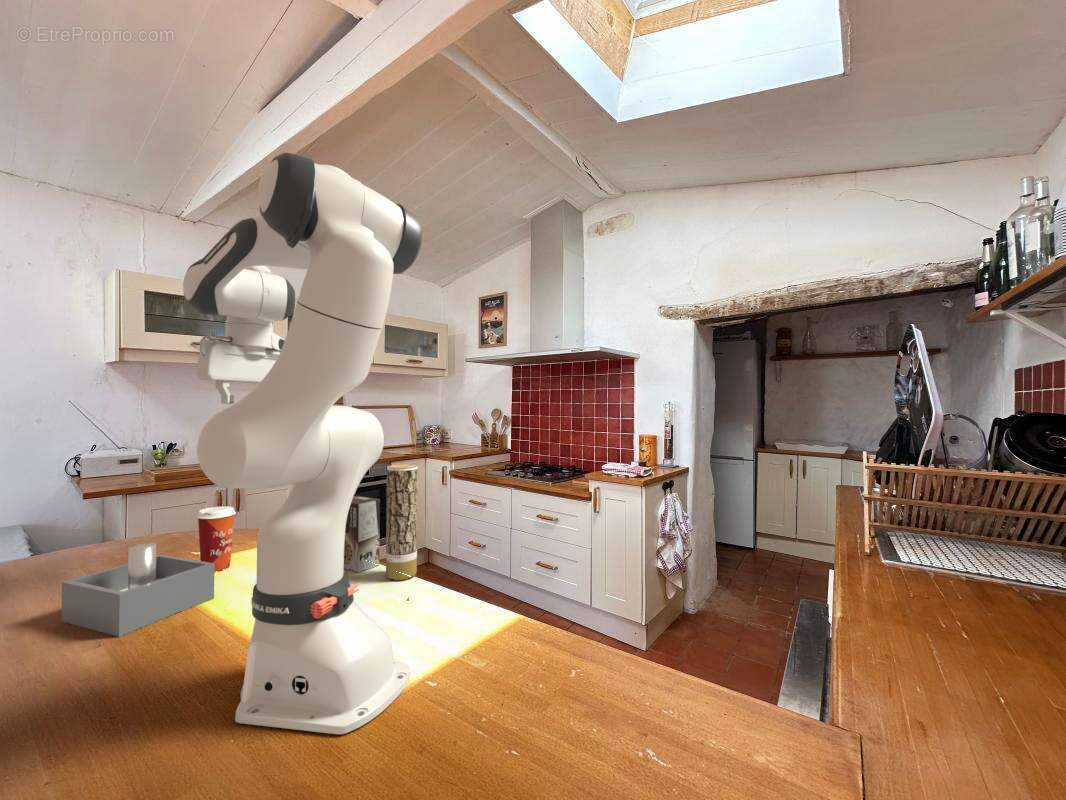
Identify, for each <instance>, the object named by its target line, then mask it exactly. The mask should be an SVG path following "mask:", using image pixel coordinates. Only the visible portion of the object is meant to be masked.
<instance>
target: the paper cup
mask: <svg viewBox="0 0 1066 800" xmlns="http://www.w3.org/2000/svg"><path fill="white" fill-rule="evenodd" d="M236 514H237V512H236V511H235V507H233V506H230V505H229V506H227V505H226V506H213V507H212V506H211V507H207V508H202V509H200V510H199V511H198V513H197V515H196V519H197V524H198V539H199V555H200V556H199V557H200V560H199V561H203V562H209V563H215V568H214V573H216V572H215V571H218V572H221V571H220V570H222V571H224V570H223V569H225V570H227V569H229V568H230V567H231V557H232V551H233V549H232V547H233V537H234V536H233V535H234V534H233V533H234V523H235V522H234V521H235V515H236ZM229 566H230V567H229ZM228 567H229V568H228ZM226 568H227V569H226Z"/></svg>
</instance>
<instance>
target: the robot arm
mask: <svg viewBox="0 0 1066 800" xmlns="http://www.w3.org/2000/svg"><path fill="white" fill-rule="evenodd" d="M257 190H258V191H257V194H258V195H257V196H258V203H259V213H260V214H259V215H257V216H253V217H250V218H249V217H248V218H246V219H242V220H240V221H238V222H237V223H235V224H234V225H233V226H232V227H231V228H230V229H229V230H228V231H227V232H226V233H225V234H224V236H222V238H220V239H219V241H218V242H217V243H215V245H214V246H213V247H212V248H211V249H210V250H209V251H208V252H207V254H206V255H205V256H203V257H202V258H201V259H198V260H197V261H195V262H194V263H192V264H191V265H190V266H189V267H188V269H187V271H186V273H185V275H184V278H183V283H182V284H183V285H182V287H183V288H182V289H183V297H184V299H185V301H186V302H187V304H189V305H190V306H191V307H192V308H193V309H194V310H195V311H196V312H198V314H201V315H206V316H226V319H225V321H224V322H225V323H224V328H225V329H224V335H216V334H211V333H209V334H207V335H205V336H203V337H201V339H200V341H199V354H198V358H197V364H196V365H197V366H196V376H197V377H198V379H199V380H200V381H207V382H209V381H210V382H213V381H214V382H215V388H216V390H217V391H218V393H219V395H220V396H221V397H220V399H221V400H220V403H221V404H223V405H224V404H225V405H226V404H227V405H229V404H230V405H231V404H232V405H231V406H229V407H227V408H225V409H224V410H222V411H219V412H217V413H215V414H214V415H213V416H212V417H210V419H209V420H208V421H207V422H206V423H205V425H204V426H203V428H202V430H201V431H200V434H199V437H198V440H197V445H196V456H197V461H198V463H199V466H200V468H201V471H202V472H203V474H204V475H205V476H206V477H207V479H208V480H210V481H211V482H212V483H213V484H215V485H216V486H218V488H219V487H220V488H223V489H236V490H237V489H239V490H240V489H241V490H266V489H272V488H279V487H283V486H290V485H292V487H291V490H290V492H289V494H288V497H287V498H286V500H285V501H284V503H283V504H282V505H281V506H280V507H279V508H278V509H277V510H276V511H274V513H272V514H271V515H270V516H268V517H267V518H266V519H265V520H264V521H263V523H262V524H261V526H260V529H259V530H258V533H257V538H256V539H257V541H256V583H255V585H253V587H252V596H251V601H250V602H251V614H252V617H253V618H254V625H253V630H252V634H251V637H250V640H249V645H248V646H247V647H248V648H247V655H246V661H245V662H246V663H245V669H244V671H245V672H244V676H243V677H244V679H243V684H242V687H241V690H240V695H239V696H240V702H239V703H238V705H237V708H236V710H235V714H234V715H235V717H234V722H235V723H238V724H245V725H253V726H263V727H269V728H279V729H280V728H281V729H288V730H296V731H297V730H298V731H305V732H315V733H320V734H321V733H323V734H332V735H346V734H348V733H350V732H352V731H354V730H358V728H361V727H362V726H364V725H365V724H368V723H369V722H370V721H372V720H373V719H374V718H376V717H377V716H378V715H380V714H381V713H382V712H383V711H385V710H386V709H387V708H388V707H389V706H390V705H391V704H392V703H393V702H394V701H395V700H396V699H398V697H399V696H400V694H401V693H402V692H403V691H404V689H405V688H406V687H407V685H408V682H409V680H410V675H411V671H410V666H409V665H408V664H406V663H404V662H402V661H400V660H398V659H395V658H394V654H393V647H392V641H391V638H390V635H389V634H388V633H387V631H385V629H383V628H382V627H381V626H380V625H379V622H377V621H376V620H374V619H373V618H372V617H370V616H369V615H368V614H367V613H366V612H365V611H364V610H363V609H362V608H361V607H360V606H359V605H358V604H357V603H356V602H355V600H354V599H355V598H354V594H355V593H357V592H359V591H360V588H358V586H360V582H356V583H355V584H353V585H352V586H351V583H350V581H349V579H348V575H347V573H346V571H345V570H344V569H345V568H344V543H345V528H346V521H347V516H348V512H349V508H350V505H351V502H352V499H353V497H354V496H355V494H356V491H357V489H358V487H359V485H360V483H361V481H362V480H363V478H364V476H365V475H366V474H367V472H368V471H369V469H371V468H372V466H374V464H375V463H377V461H378V460H379V459H380V457H381V455H382V452H383V450H384V445H385V436H384V430H383V427H382V424H381V422H380V421H379V419H378V418H377V417H376V416H375V414H373V413H371V412H370V411H367V410H363V409H359V408H357V407H351V406H348V405H340V404H339V405H334V404H335V403H336V402H337V401H338V400H339V399H340V398H342V397H343V396H345V394H347V393H349V392H350V391H352V390H353V389H355V388H357V387H358V386H360V385H361V384H363V382H364V381H365V380H366V378H367V377H368V375H369V372H370V369H371V366H372V363H373V360H374V357H375V353H376V350H377V347H378V343H379V340H380V337H381V334H382V331H383V328H384V324H385V321H386V316H387V314H388V313H387V312H388V309H389V305H390V300H391V295H392V287H393V279H394V275H400V274H402V273H404V272H406V271H407V270H408V269H409V268H411V267H412V265H413V264H414V263H415V261H416V260H417V257H418V255H419V253H420V250H421V247H422V241H423V232H422V231H423V230H422V227H421V223H420V221H419V219H418V217H416V216H415V214H413V212H411V211H410V210H409V209H408V208H406V207H405V206H403V204H400V203H394V201H391V199H389V198H387V197H386V196H384V195H382V194H381V193H379V192H377V191H376V190H374V189H372V188H370V187H368V186H366V184H365V185H364V184H362V182H361V181H359V180H358V179H355V178H353V177H351V175H350V174H349V173H347V172H345V171H344V170H342V169H341V168H339V167H336V166H334V165H330V164H319V163H315V162H314V161H313V159H312V158H310V157H309V158H308V157H306V156H303V155H299V154H296V153H291V152H290V153H289V152H283V153H280V154H278V155H277V156H275V157H274V158H273V159H272V160H271V161H270V163H269V164H268V166H267V167H265V169H264V171H263V172H262V174H261V176H260V179H259V183H258V188H257ZM269 267H279V268H289V269H300V270H307V271H306V273H305V277H304V278H303V280H302V284H301V287H300V289H299V293H298V297H297V301H296V292H295V288H294V287H293V286H292V284H291V282H289V280H288V279H287V278H286V277H283V276H280V275H277V274H274V273H272V271H271V269H270V268H269ZM291 315H292V318H291V321H290V323H289V327H288V331H287V333H286V336H285V338H283V337H281V336H280V335H278V334H276V333H274V326H273V322H280V321H281V322H282V321H284V320H286V319H288V318H289V317H290V316H291ZM230 382H231V383H245V384H246V383H247V384H257V385H256V386H255V387H254V388H253V389H252V390H251V391H250V392H249V393H248V394H246V395H245V396H244V397H242V399H240V400H238V401H237V402H235V400H234V399H235V395H234V394H233V395H232V394H231V393H230V391H229V389H228V388H229V387H230ZM234 402H235V403H234Z"/></svg>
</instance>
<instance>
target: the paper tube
mask: <svg viewBox="0 0 1066 800" xmlns="http://www.w3.org/2000/svg"><path fill="white" fill-rule="evenodd" d="M386 467H387V468H386V509H385V510H386V512H385V514H386V515H385V516H386V520H385V521H386V523H385V524H386V527H385V531H386V532H385V535H386V536H385V540H386V541H385V545H386V546H385V576H386V578H387V579H389V578H390V579H389V580H391V579H394V580H393V581H404V580H408V578H409V579H411V577H409V576H407V575H410V576H413V577H414V576H415V575H416V574H417V571H418V570H417V569H418V567H417V566H418V564H417V563H418V491H419V490H418V486H419V485H418V480H419V474H418V473H419V471H418V470H419V469H418V465H416V464H404V463H403V464H393V465H388V466H386ZM396 571H397V572H396ZM399 572H401V573H399ZM402 573H404V574H407V575H404V574H402Z"/></svg>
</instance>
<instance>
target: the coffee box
mask: <svg viewBox="0 0 1066 800" xmlns="http://www.w3.org/2000/svg"><path fill="white" fill-rule="evenodd" d="M380 515H381V499H380V498H374V497H368V496H367V497H366V496H361V495H354V497H353V499H352V502H351V505H350V508H349V512H348V516H347V521H346V528H345V543H344V569H345V568H347V569H346V570H348V569H350V570H349V571H352V570H353V571H352V572H355V571H356V573H361V572H364V571H366V570H365V569H367V570H369V569H373V568H375V567H379V566H380V536H381V535H380V534H381V533H380V530H381V528H380V527H381V525H380V524H381V523H380V520H381V519H380V517H381V516H380ZM366 560H367V561H366ZM369 561H370V562H369ZM372 562H373V563H372ZM374 563H375V564H378V565H379V566H378V565H375V564H374ZM363 570H364V571H363ZM360 571H361V572H360Z"/></svg>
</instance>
